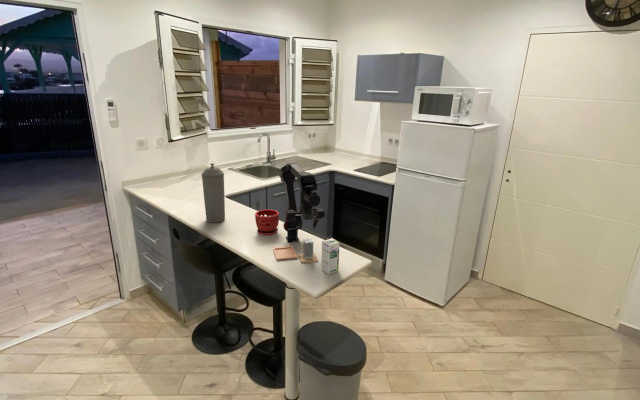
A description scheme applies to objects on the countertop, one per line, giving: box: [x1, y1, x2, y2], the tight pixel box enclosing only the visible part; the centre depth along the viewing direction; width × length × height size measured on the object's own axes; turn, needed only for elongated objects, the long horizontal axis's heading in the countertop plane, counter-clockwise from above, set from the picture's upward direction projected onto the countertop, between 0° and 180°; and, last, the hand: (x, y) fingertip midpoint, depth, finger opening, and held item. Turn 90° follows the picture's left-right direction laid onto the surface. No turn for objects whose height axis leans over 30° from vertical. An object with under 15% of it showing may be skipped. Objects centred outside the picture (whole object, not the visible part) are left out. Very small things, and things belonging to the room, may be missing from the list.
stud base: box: [297, 252, 319, 264], centre depth 169 cm, size 8×8×2 cm
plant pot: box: [254, 209, 280, 237], centre depth 196 cm, size 13×13×12 cm
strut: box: [302, 238, 314, 256], centre depth 168 cm, size 4×4×7 cm
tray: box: [272, 245, 298, 261], centre depth 173 cm, size 12×10×1 cm
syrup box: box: [320, 237, 341, 275], centre depth 157 cm, size 6×6×14 cm
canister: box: [201, 162, 226, 224], centre depth 207 cm, size 13×13×35 cm
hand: (304, 229), depth 172 cm, fingers open, 9 cm apart
